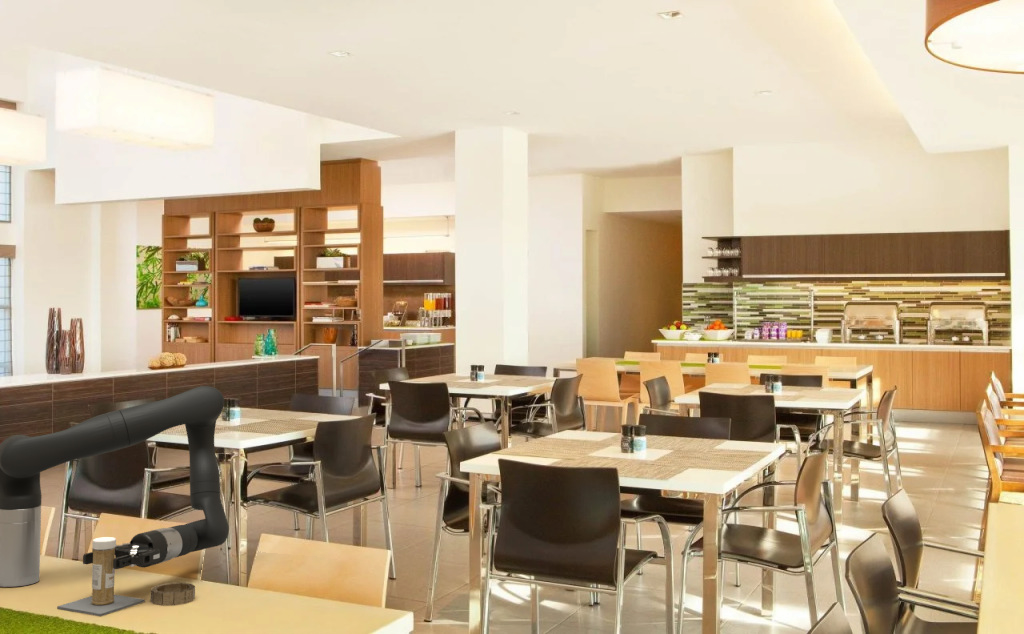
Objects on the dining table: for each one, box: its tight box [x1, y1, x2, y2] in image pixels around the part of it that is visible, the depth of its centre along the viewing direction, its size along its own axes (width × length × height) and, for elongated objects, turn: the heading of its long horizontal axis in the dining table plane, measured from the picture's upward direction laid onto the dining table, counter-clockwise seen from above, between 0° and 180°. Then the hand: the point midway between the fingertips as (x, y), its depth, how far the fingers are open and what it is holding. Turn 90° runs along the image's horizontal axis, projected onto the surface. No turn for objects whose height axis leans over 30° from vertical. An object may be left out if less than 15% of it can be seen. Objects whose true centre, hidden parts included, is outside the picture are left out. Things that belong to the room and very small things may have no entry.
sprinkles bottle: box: [91, 536, 117, 605], centre depth 204 cm, size 5×5×13 cm
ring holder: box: [149, 582, 196, 606], centre depth 209 cm, size 9×9×2 cm
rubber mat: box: [56, 593, 146, 617], centre depth 203 cm, size 12×12×1 cm
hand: (99, 561), depth 203 cm, fingers open, 8 cm apart
